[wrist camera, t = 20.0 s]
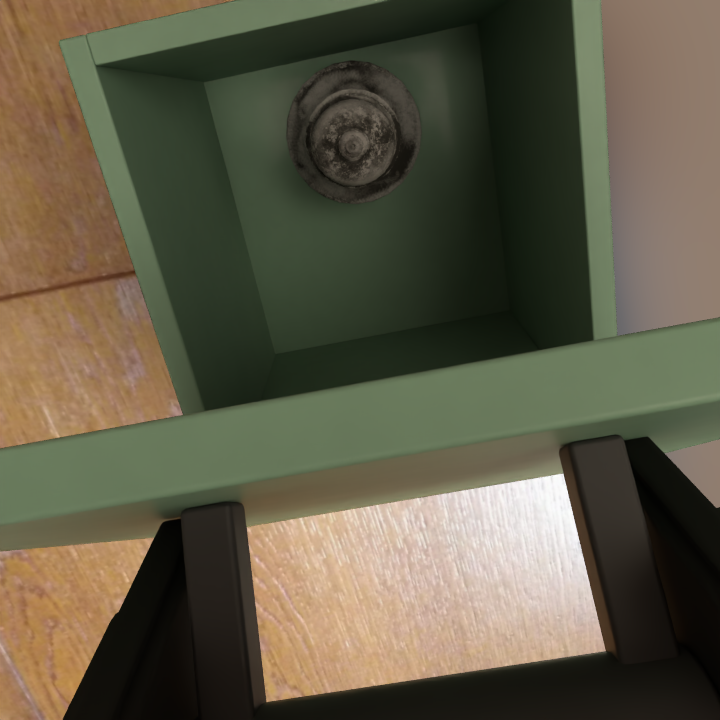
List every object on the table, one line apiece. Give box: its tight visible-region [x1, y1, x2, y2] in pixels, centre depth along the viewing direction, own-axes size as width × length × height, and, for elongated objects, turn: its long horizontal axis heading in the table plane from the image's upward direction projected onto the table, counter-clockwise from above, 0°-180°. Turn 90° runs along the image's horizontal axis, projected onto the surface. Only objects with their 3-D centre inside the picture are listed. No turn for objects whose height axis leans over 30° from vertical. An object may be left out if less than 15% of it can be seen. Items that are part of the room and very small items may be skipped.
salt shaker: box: [286, 60, 422, 204], centre depth 25 cm, size 6×6×12 cm
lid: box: [0, 317, 720, 720], centre depth 14 cm, size 16×15×5 cm
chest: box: [59, 0, 617, 415], centre depth 26 cm, size 16×15×14 cm
